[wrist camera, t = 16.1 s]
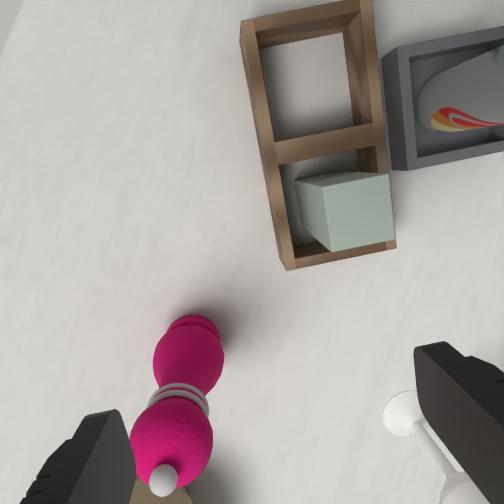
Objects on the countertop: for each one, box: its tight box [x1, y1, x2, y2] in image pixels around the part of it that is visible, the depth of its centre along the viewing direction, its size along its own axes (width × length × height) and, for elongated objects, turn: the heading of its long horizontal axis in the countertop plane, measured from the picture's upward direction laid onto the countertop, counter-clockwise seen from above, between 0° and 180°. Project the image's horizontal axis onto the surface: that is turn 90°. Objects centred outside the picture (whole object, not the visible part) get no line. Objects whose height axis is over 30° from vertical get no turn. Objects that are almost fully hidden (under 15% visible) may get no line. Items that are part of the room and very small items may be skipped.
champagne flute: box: [383, 391, 490, 504], centre depth 34 cm, size 7×7×24 cm
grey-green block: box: [294, 171, 395, 252], centre depth 33 cm, size 5×5×12 cm
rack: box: [239, 0, 397, 271], centre depth 35 cm, size 22×11×5 cm, turn 11°
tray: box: [381, 26, 504, 171], centre depth 36 cm, size 11×11×4 cm
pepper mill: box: [129, 315, 224, 497], centre depth 32 cm, size 7×7×20 cm
